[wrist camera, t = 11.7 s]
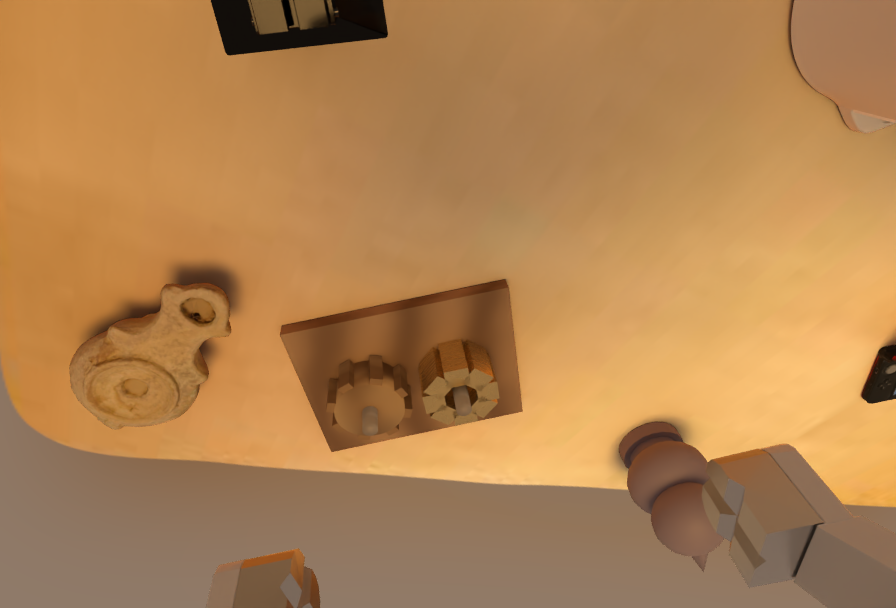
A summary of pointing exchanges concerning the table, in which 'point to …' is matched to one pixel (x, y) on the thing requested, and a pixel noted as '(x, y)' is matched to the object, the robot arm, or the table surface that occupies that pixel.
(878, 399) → the handheld game console
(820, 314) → the table surface
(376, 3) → the black stand
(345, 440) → the gear board
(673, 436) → the turned wooden finial
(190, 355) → the oil lamp
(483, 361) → the brass gear
